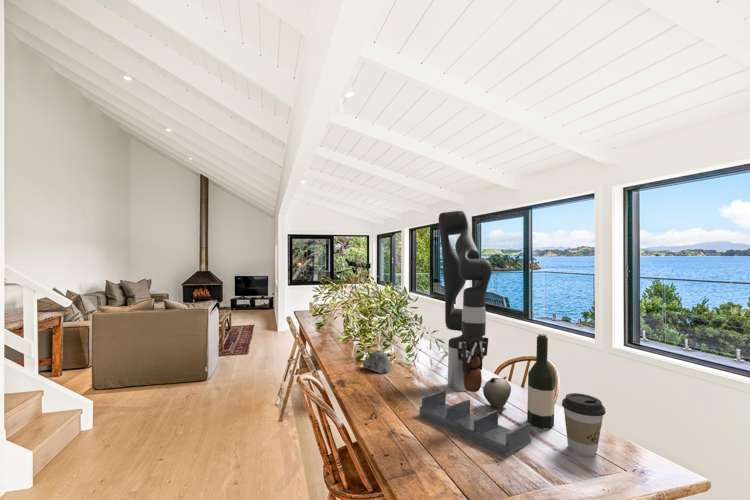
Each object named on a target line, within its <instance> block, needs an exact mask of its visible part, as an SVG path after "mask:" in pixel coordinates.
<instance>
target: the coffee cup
mask: <svg viewBox="0 0 750 500" xmlns="http://www.w3.org/2000/svg"><path fill="white" fill-rule="evenodd" d="M561 406H562V407H563V412H564V413H563V414H564V422H565V431H566V439H567V444H568V448H569V449H568V450H570V451H571V452H572V453H574V454H577V455H579V456H582V457H591V458H592V457H594V456H596V455H597V452H598V448H599V442H600V436H601V430H602V425H603V424H602V423H603V420H604V419H603V418H604V415H606V408H605V406H604V405H603V402H602V401H601V400H600V399H598V398H597V397H595V396H592V395H589V394H584V393H577V392H576V393H574V392H573V393H568V394H566V395H565V398H563V399H562V400H561Z"/></svg>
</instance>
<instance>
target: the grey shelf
mask: <svg viewBox="0 0 750 500" xmlns="http://www.w3.org/2000/svg"><path fill="white" fill-rule="evenodd" d="M446 392H447V391H446V390H445V389H444V390H441V391H437V392H434V393H432V394H428V395H426V396H422V397H421V406H419V411H418V412H419V415H418V417H421V418H422V419H424V420H427V421H428V422H430V423H432V424H435V425H436V426H439V427H441V428H443V429H445V430H447V431H450V432H451V433H454V434H455V435H457V436H460V437H462V438H464V439H466V440H468V441H469V442H472V443H474V444H477V445H478V446H481V447H483V448H485V449H487V450H488V451H491V452H493V453H494V454H498V455H499V456H502V457H504V458H506V459H507V458H508V457H510V456H512V455H514V454H515V453H516V452H518V451H520V450H521V449H524V448H525V447H527V446H528V445H530V444H531V443H532V438H531V425H530V423H529V422H525V423H523V424H522V425H519V426H518V427H516V428H514V429H509V428H507V427H504V426H502V425H499V411H497V410H495V411H493V412H492V411H490V412H488V413H486V414H484V415H482V416H477V415H475V414H473V413H471V399H466V400H463V401H461V402H459V403H455V404H453V405H451V404H450V403H449V404H448V403H447V402H446V400H447V399H446V398H447V397H446V395H447V393H446Z"/></svg>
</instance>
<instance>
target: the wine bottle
mask: <svg viewBox="0 0 750 500" xmlns="http://www.w3.org/2000/svg"><path fill="white" fill-rule="evenodd" d="M548 342H549V338H548V337H547V334H544V333H539V334H538V336H537V337H536V357H535V359H536V361H535V363H534V364H533V366H532V367H531V368H530V370H529V371H528V372H527V373H528V375H527V376H528V377H527V407H526V409H527V411H526V412H527V414H526V415H527V418H526V421H527V422H529V423H530V427H531V426H532V427H535V428H537V429H541V430H552V429H553V427H554V426H555V403H556V401H555V396H556V395H555V394H556V386H555V385H556V375H555V373H554V371H553V370H552V367H550V365H549V363H548V353H549V352H548V349H549V348H548V345H549V343H548ZM527 422H526V423H527Z"/></svg>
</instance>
